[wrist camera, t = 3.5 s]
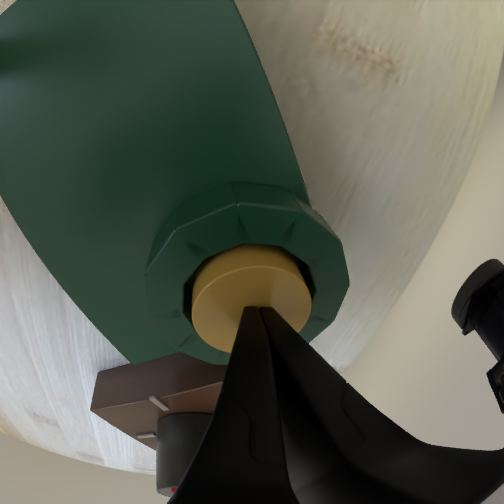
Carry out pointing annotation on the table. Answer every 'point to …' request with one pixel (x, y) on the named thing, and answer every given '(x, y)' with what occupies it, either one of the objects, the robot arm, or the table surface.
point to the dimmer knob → (177, 447)
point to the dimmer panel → (156, 393)
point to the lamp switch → (246, 290)
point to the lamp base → (150, 162)
